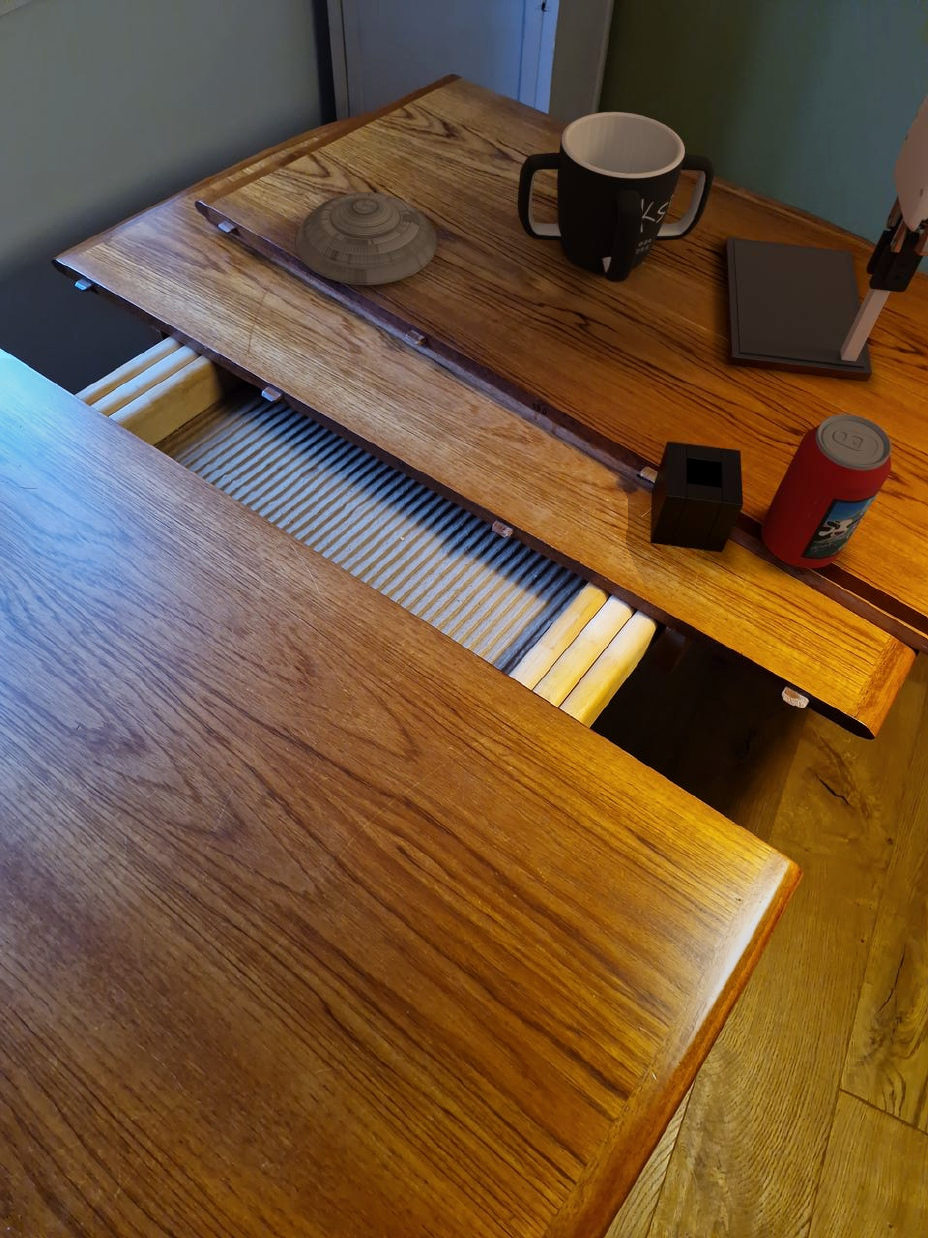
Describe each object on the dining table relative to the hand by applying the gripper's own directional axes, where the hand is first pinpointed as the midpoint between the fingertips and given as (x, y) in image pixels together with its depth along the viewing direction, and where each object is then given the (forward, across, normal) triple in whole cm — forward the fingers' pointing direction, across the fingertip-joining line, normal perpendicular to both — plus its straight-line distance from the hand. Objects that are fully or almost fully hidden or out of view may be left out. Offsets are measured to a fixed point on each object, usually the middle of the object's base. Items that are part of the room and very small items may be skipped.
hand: (884, 280), depth 80 cm
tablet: (+10, +8, +4) cm, 13 cm away
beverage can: (+10, -24, +6) cm, 26 cm away
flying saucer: (+10, +9, +50) cm, 51 cm away
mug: (+10, +14, +25) cm, 30 cm away
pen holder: (+10, -23, +15) cm, 29 cm away
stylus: (+9, 0, 0) cm, 9 cm away
